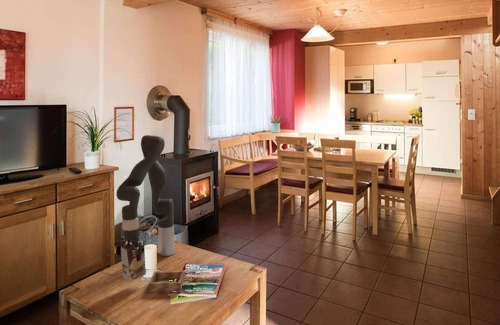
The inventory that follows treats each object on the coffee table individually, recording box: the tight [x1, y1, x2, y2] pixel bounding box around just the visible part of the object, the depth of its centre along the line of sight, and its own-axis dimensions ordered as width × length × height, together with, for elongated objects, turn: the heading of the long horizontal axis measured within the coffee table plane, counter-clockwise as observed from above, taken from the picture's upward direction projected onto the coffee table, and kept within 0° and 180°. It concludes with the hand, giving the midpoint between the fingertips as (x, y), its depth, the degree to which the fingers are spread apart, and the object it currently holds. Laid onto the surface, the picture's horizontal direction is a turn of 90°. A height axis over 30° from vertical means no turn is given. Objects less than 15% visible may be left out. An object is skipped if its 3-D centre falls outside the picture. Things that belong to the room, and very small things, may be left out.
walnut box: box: [148, 270, 186, 294], centre depth 180 cm, size 15×12×5 cm
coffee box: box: [120, 245, 147, 282], centre depth 179 cm, size 9×6×16 cm
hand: (133, 259), depth 178 cm, fingers closed on coffee box, 7 cm apart
